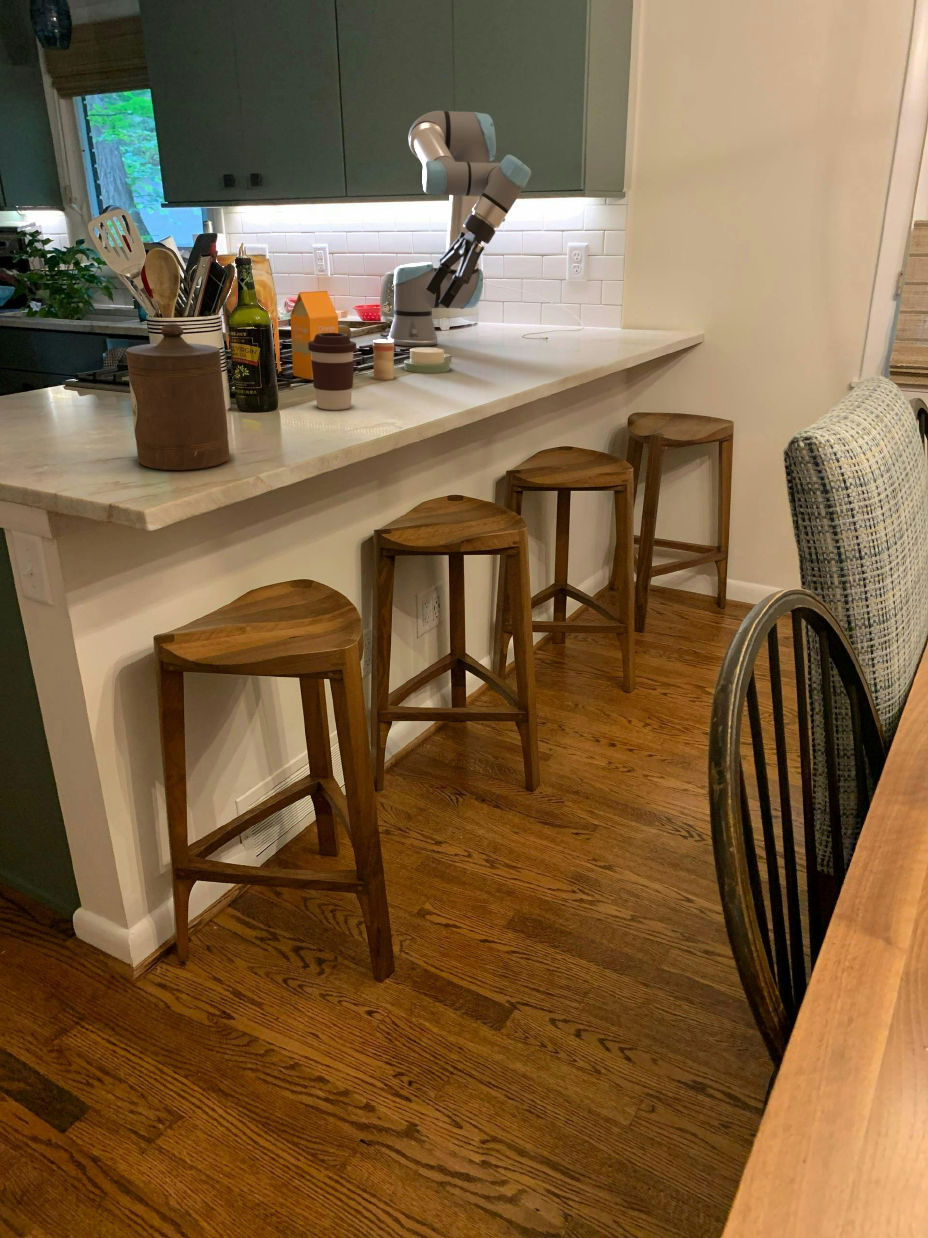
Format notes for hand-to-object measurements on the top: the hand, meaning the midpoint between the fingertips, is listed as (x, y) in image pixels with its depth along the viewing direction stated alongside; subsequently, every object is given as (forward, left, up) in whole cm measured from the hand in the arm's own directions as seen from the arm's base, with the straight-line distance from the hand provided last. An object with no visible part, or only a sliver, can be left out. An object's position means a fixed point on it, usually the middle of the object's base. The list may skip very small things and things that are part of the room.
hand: (436, 298), depth 232 cm
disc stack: (-8, +4, -19) cm, 21 cm away
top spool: (-4, -14, -19) cm, 24 cm away
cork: (-20, -15, -19) cm, 31 cm away
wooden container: (+37, -91, -19) cm, 100 cm away
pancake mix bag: (-26, -38, -19) cm, 49 cm away
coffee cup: (+17, -45, -19) cm, 52 cm away
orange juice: (-16, -26, -19) cm, 36 cm away
